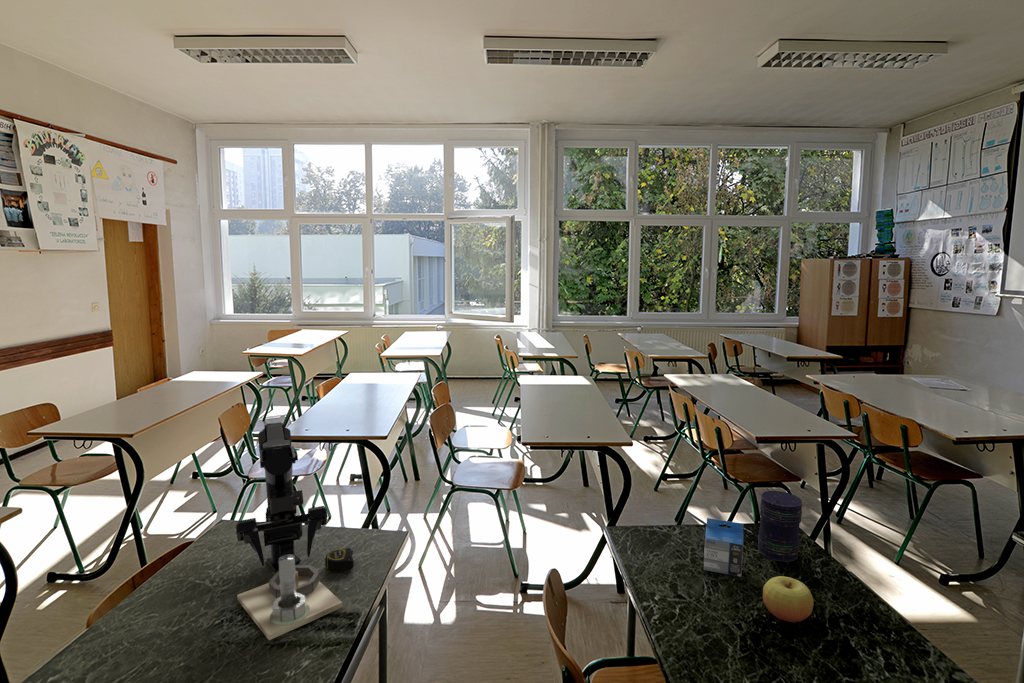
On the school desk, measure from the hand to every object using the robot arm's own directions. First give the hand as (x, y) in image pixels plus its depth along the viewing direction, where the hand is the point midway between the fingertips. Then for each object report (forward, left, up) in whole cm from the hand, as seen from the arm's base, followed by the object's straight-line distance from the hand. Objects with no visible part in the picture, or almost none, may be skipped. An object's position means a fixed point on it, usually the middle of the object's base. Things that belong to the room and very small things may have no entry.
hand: (286, 561), depth 122 cm
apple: (+76, +78, -12) cm, 109 cm away
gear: (+3, -1, -10) cm, 11 cm away
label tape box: (+58, +85, -12) cm, 104 cm away
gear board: (-3, +1, -12) cm, 12 cm away
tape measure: (-9, +17, -12) cm, 23 cm away
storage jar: (+64, +104, -12) cm, 123 cm away
